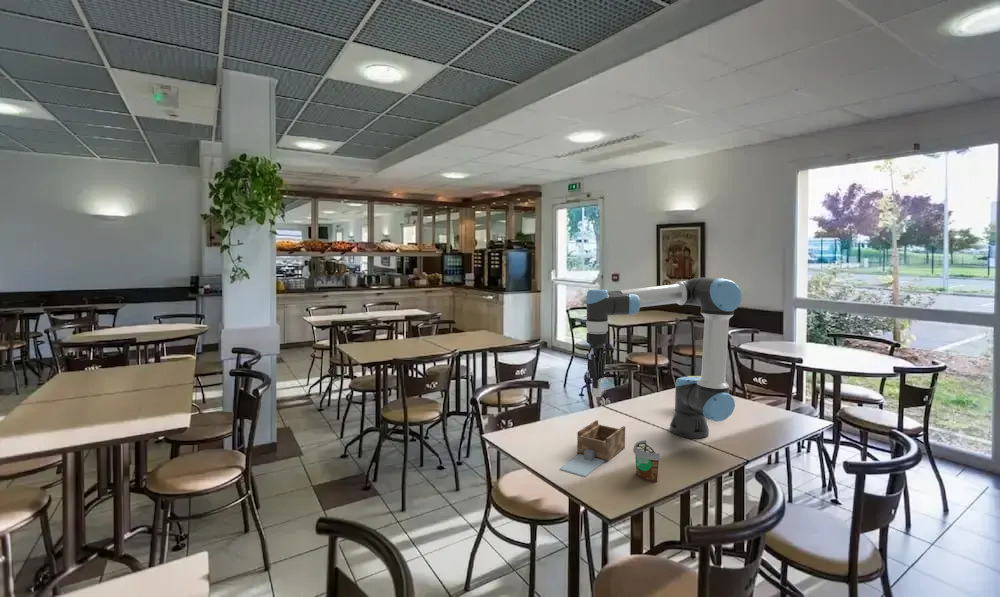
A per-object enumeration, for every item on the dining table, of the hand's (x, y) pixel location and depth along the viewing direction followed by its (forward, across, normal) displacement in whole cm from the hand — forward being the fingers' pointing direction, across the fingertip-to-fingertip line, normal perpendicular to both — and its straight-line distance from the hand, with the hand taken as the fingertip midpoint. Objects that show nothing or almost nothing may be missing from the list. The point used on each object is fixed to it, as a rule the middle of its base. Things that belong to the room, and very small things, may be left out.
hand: (596, 396), depth 179 cm
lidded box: (+22, -4, 0) cm, 23 cm away
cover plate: (+23, +11, 0) cm, 25 cm away
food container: (+23, +7, +20) cm, 31 cm away
